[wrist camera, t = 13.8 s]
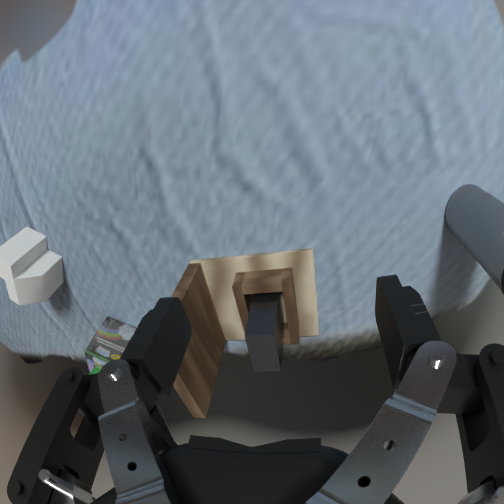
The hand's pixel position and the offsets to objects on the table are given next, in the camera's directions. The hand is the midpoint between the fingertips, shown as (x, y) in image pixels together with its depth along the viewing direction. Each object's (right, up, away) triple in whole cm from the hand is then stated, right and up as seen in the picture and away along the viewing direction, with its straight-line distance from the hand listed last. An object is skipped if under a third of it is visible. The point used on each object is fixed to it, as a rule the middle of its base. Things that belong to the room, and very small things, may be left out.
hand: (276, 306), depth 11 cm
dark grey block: (+2, -6, +39) cm, 39 cm away
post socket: (-1, -6, +40) cm, 40 cm away
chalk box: (-30, -17, +51) cm, 61 cm away
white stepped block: (-47, +2, +42) cm, 63 cm away
